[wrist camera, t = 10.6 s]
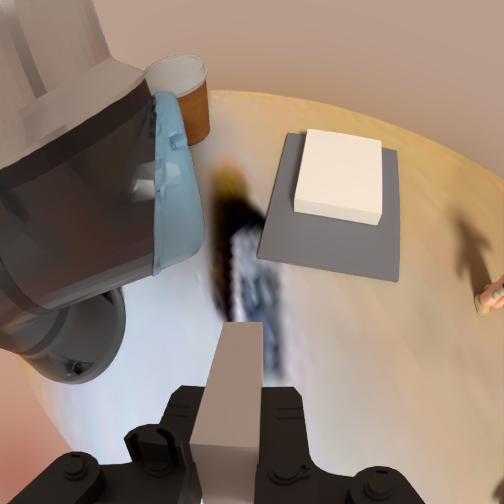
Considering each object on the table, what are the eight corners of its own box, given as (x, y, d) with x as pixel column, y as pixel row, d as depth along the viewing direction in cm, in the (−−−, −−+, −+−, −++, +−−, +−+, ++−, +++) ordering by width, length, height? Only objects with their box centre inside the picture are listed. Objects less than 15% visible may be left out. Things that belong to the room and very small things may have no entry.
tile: (294, 198, 36) (307, 128, 41) (293, 212, 38) (307, 142, 43) (381, 213, 34) (381, 140, 39) (376, 226, 36) (377, 154, 41)
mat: (257, 258, 36) (257, 256, 36) (287, 135, 45) (287, 132, 44) (397, 282, 34) (398, 280, 33) (395, 153, 42) (396, 150, 41)
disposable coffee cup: (230, 118, 48) (219, 54, 37) (201, 159, 44) (180, 92, 33) (180, 110, 50) (162, 52, 40) (149, 148, 47) (122, 88, 36)
